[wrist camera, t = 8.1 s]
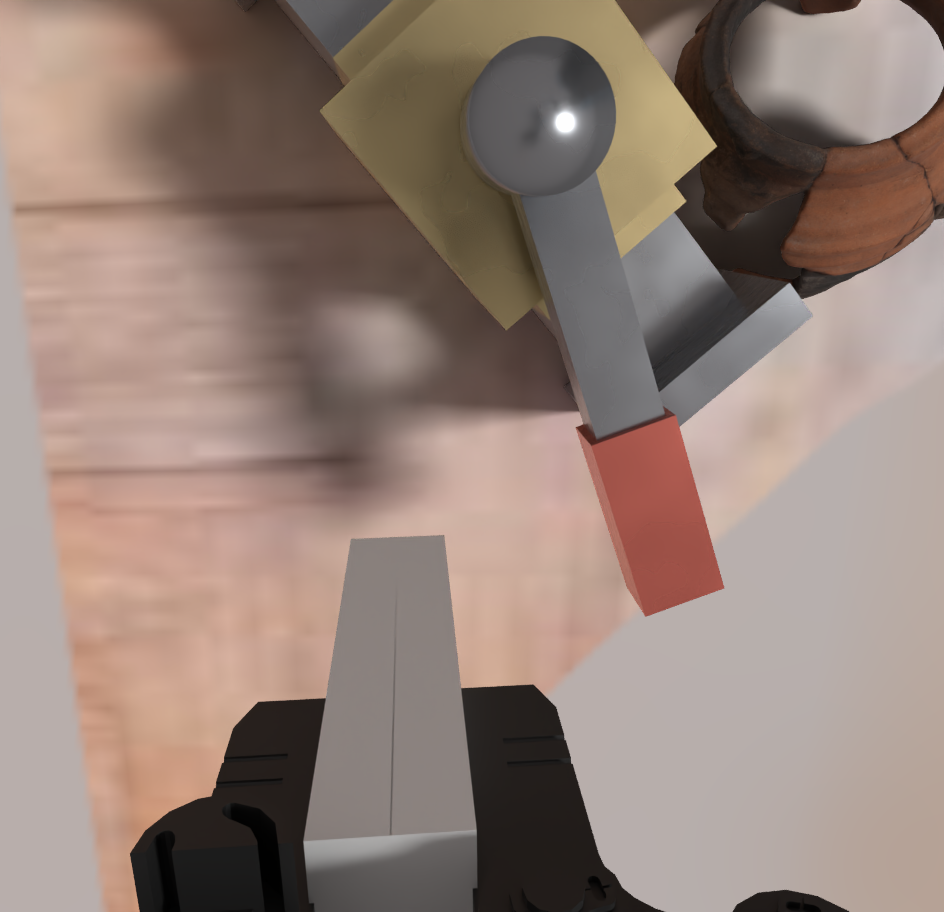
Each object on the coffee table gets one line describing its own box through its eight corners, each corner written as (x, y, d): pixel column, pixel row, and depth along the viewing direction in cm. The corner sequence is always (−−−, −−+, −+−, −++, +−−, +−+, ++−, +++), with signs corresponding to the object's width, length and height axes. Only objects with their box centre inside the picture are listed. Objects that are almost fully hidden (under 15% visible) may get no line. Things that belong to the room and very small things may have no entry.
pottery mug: (636, 315, 30) (658, 201, 22) (657, 78, 32) (685, -108, 24) (999, 340, 28) (1167, 226, 20) (1000, 88, 30) (1156, -109, 22)
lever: (440, 82, 20) (448, 66, 17) (568, 36, 20) (591, 13, 17) (607, 588, 24) (630, 628, 22) (712, 550, 24) (747, 586, 22)
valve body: (381, -187, 24) (379, -336, 18) (731, 286, 29) (832, 311, 23) (209, -15, 25) (144, -95, 18) (577, 417, 30) (631, 477, 23)
